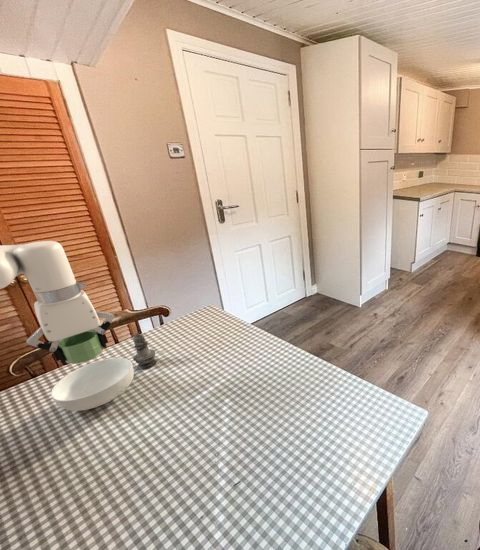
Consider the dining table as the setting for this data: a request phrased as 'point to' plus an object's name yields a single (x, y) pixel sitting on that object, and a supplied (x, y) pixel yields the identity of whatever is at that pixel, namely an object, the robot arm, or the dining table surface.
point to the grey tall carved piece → (143, 353)
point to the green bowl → (81, 347)
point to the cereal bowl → (93, 384)
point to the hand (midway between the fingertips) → (84, 353)
